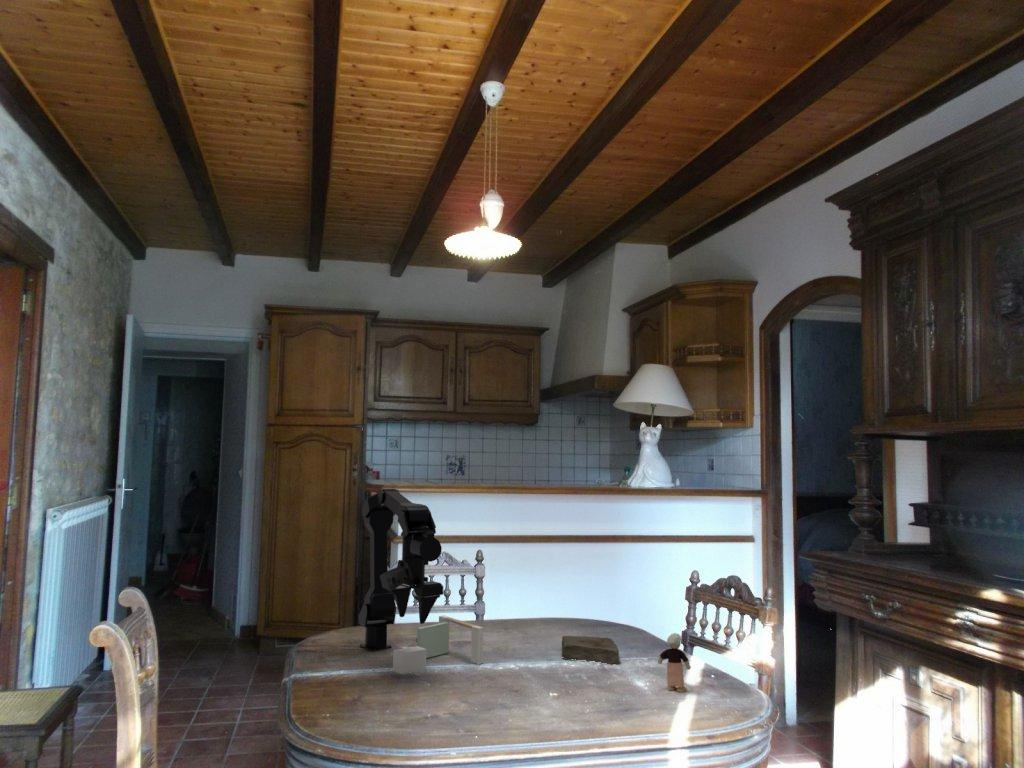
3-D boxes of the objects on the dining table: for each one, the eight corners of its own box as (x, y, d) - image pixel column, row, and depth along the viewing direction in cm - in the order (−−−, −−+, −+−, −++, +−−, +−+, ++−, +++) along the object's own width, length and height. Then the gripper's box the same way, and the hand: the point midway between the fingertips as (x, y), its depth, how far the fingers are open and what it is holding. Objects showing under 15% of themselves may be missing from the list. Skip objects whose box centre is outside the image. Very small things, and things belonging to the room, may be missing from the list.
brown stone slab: (619, 666, 204) (619, 649, 204) (561, 664, 205) (561, 648, 205) (614, 649, 221) (614, 634, 221) (561, 648, 221) (561, 633, 222)
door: (441, 650, 214) (442, 621, 215) (448, 652, 212) (448, 622, 213) (413, 658, 206) (414, 627, 207) (419, 659, 205) (420, 628, 205)
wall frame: (438, 649, 216) (438, 616, 217) (442, 649, 217) (443, 615, 217) (477, 664, 202) (478, 628, 203) (482, 663, 203) (483, 627, 204)
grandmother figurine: (692, 688, 184) (692, 632, 185) (690, 693, 181) (690, 636, 182) (658, 685, 187) (658, 629, 188) (656, 689, 183) (656, 633, 184)
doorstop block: (392, 670, 196) (393, 649, 196) (417, 666, 200) (417, 646, 200) (401, 674, 192) (402, 653, 193) (425, 670, 197) (426, 649, 197)
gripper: (366, 554, 201) (364, 617, 199) (406, 563, 186) (404, 631, 185) (404, 551, 208) (402, 612, 206) (445, 559, 193) (443, 625, 192)
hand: (411, 620), depth 197 cm, fingers open, 9 cm apart
